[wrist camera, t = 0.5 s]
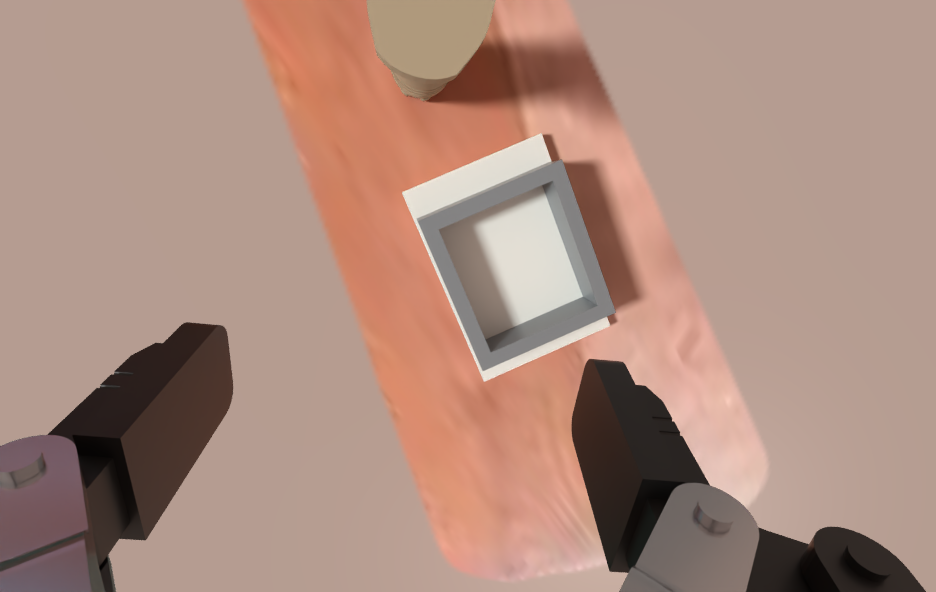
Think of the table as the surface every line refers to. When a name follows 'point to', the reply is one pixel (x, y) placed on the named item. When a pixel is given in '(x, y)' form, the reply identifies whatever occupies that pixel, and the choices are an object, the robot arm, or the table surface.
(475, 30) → the handle
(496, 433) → the table surface
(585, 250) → the holder
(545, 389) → the table surface
